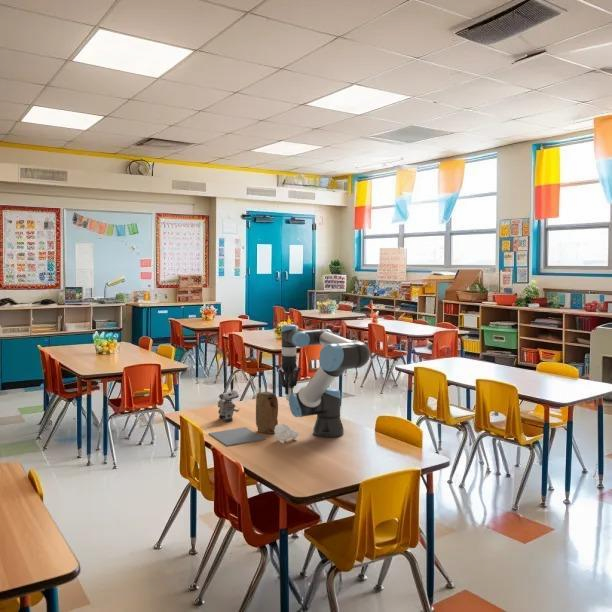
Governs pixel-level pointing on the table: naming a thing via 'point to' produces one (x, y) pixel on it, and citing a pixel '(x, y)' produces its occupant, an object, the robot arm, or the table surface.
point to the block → (266, 412)
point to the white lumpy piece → (284, 432)
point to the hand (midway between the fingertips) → (288, 400)
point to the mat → (236, 436)
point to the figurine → (227, 405)
